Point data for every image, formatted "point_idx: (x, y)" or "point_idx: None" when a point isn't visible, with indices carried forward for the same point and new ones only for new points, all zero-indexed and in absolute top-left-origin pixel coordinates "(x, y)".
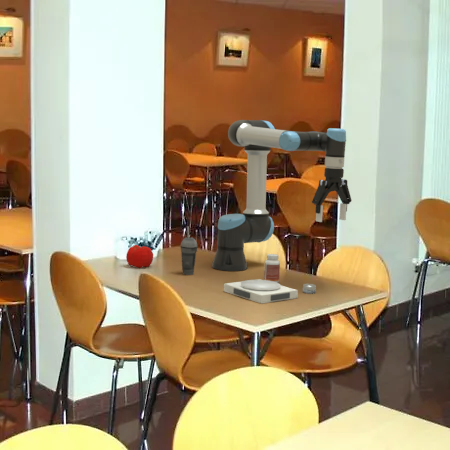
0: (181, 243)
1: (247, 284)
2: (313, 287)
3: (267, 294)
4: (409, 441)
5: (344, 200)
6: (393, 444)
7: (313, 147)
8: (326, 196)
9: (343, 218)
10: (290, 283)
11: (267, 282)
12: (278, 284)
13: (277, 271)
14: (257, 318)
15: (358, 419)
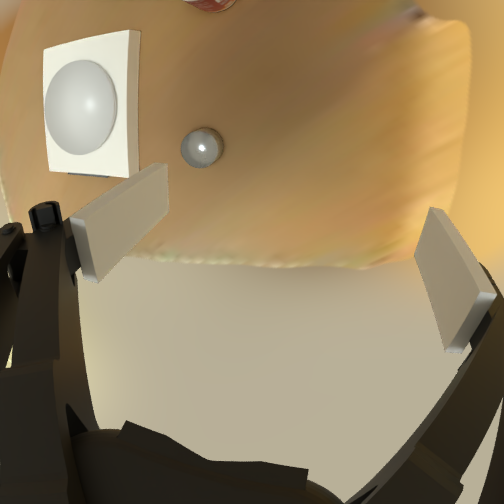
0: None
1: (52, 101)
2: (197, 166)
3: (60, 170)
4: None
5: (457, 375)
6: None
7: None
8: (81, 362)
9: (420, 252)
10: (247, 36)
11: (94, 102)
12: (102, 133)
13: (203, 5)
14: (29, 227)
15: None
